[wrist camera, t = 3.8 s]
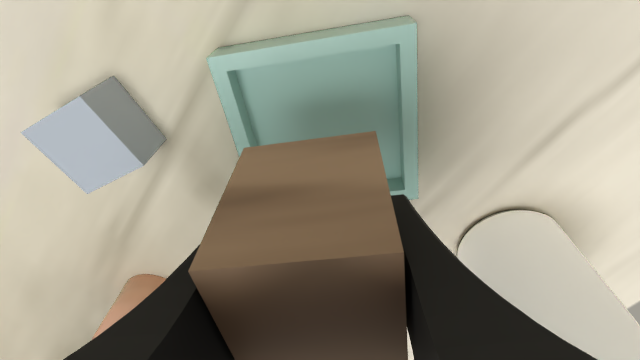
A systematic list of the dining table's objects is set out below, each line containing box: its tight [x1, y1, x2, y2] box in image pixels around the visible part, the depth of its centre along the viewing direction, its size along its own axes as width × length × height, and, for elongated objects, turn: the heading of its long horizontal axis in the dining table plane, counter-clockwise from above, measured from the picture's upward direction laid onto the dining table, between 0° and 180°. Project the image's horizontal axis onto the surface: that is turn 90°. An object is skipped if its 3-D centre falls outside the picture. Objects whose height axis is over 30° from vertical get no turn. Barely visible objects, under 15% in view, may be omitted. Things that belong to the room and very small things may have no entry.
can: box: [458, 210, 640, 360], centre depth 18 cm, size 6×6×12 cm
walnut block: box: [188, 131, 408, 360], centre depth 11 cm, size 4×4×6 cm
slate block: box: [21, 76, 166, 194], centre depth 18 cm, size 4×4×3 cm
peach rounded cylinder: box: [92, 274, 166, 340], centre depth 25 cm, size 4×4×4 cm
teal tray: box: [206, 16, 418, 200], centre depth 18 cm, size 9×9×2 cm
